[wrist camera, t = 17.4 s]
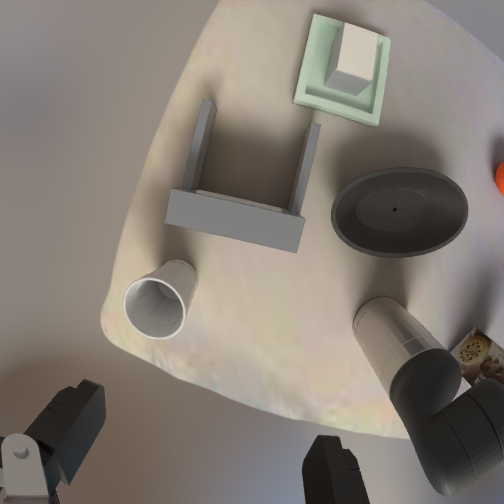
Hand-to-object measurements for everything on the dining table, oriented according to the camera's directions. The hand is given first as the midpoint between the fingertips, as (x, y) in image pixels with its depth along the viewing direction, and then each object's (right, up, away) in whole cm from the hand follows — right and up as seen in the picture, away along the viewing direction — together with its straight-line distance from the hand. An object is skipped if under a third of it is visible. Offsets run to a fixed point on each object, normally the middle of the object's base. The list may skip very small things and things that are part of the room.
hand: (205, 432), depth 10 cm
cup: (-10, +2, +37) cm, 38 cm away
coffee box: (+44, -13, +39) cm, 60 cm away
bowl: (+23, +13, +34) cm, 43 cm away
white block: (+15, +33, +28) cm, 46 cm away
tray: (+15, +34, +29) cm, 47 cm away
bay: (+1, +19, +33) cm, 38 cm away
